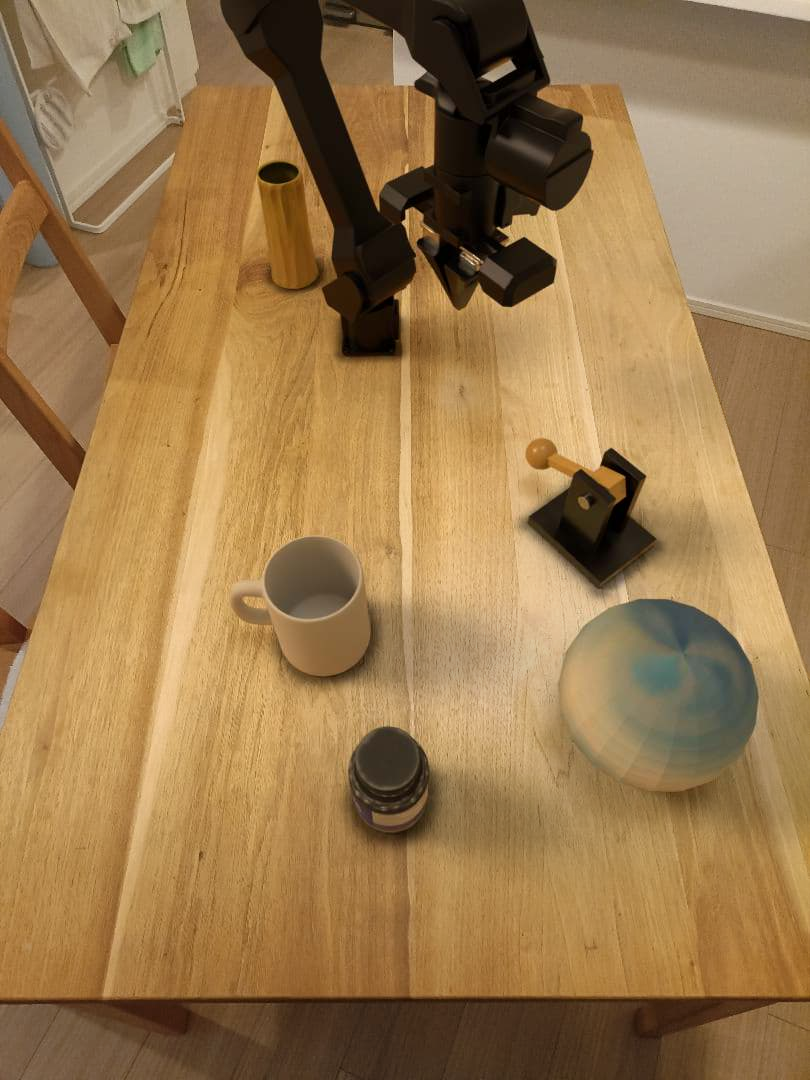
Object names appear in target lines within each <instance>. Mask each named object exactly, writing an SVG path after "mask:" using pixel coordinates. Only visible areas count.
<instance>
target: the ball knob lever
mask: <svg viewBox="0 0 810 1080" xmlns="http://www.w3.org/2000/svg"><path fill="white" fill-rule="evenodd" d="M524 455H525V460H526V462H527V464H528V465H529V467H532V469H535V470H538V471H545V470H548V469H550V468H551V469H554V470H556V471H557V472H559V473H562V474H564V475H565V476H567V477H569V478H571V479H572V478H573V474H574V473H575V472H577V471H578V470H580V469H582V470H583V471H585V472H586V473H587V474H588V475H589V476H590V477H592V478H593V479H594V480H595V481H596V482H598V483H599V484H600V485H601V486H602V487H603V488H605V489H606V490H607V491H608V492H609V493H611V494H612V495H613V496H614V497H615V498H616V501H615V504H617V503H618V502H619V501H621V500H622V499H623V498H625V497H626V481H625V476H623V475H621V474H619V473H617V472H615V471H613V470H611V469H609V468H607V467H604V466H601V467H600V466H599V467H598V468H596V469H595V470H591V469H589V468H587V467H585V466H583V465H581V464H579V463H577V462H575V461H573V460H571V459H569V458H567V457H565V456H563V455H561V454H559V453H558V448H557V446H556V444H555V443H554V442H553V441H552V440H550V439H549V438H545V437H539V438H538V437H537V438H535V439H533V440H532V441H531V442H529V443H528V445H527V446H526V448H525V453H524ZM615 504H614V505H615Z"/></svg>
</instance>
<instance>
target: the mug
mask: <svg viewBox="0 0 810 1080" xmlns="http://www.w3.org/2000/svg"><path fill="white" fill-rule="evenodd" d="M362 565H363V564H362V562H361V560H360V558H359V556H358V555H357V553H356V552H355V551H354V550H353V549H352V548H351V546H349V545H348V544H347V543H345V542H344V541H342V540H340V539H338V538H335V537H332V536H329V535H323V534H309V535H303V536H299V537H296V538H293V539H291V540H289V541H287V542H285V543H284V544H282V545H281V546H280V547H278V548H277V549H275V551H274V552H273V553H272V554H271V556H270V557H269V558H268V560H267V562H266V563H265V566H264V568H263V572H262V576H261V578H245V579H239V580H236V581H235V582H233V584H232V585H231V586H230V589H229V593H228V600H229V605H230V608H231V610H232V611H233V613H234V614H235V615H236V616H237V618H239V620H242V622H245V623H247V624H251V625H257V626H271V627H272V626H273V629H274V632H275V635H276V636H277V640H278V643H279V646H280V648H281V651H282V653H283V655H284V657H285V659H286V660H287V661H288V663H290V664H291V665H292V666H293V667H294V668H296V669H297V670H298V671H300V672H302V673H304V674H307V675H309V676H316V677H330V676H335V675H336V676H337V675H339V674H342V673H344V672H347V671H349V669H351V668H353V667H354V666H355V665H356V664H357V663H358V662H359V661H360V660H361V659H362V658H363V656H364V655H365V653H366V651H367V650H368V647H369V644H370V641H371V622H370V615H369V608H368V600H367V591H366V581H365V574H364V568H363V566H362ZM245 597H247V598H249V597H252V598H260V599H263V600H264V604H265V605H266V608H261V607H259V608H258V607H254V606H250V605H249V604H247V603H246V602H245V601H244V600H243V598H245Z"/></svg>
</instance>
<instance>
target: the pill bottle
mask: <svg viewBox="0 0 810 1080" xmlns="http://www.w3.org/2000/svg"><path fill="white" fill-rule="evenodd" d="M429 764H430V763H429V760H428V757H427V754H426V752H425V750H424V749H423V747H422V746H421V745H420V744H419V742H418V741H417V740H416V739H415V738H413V737H412V735H411V734H409V733H408V732H407V731H406V730H403V729H401V728H399V727H396V726H390V725H387V726H385V725H384V726H379V727H377V728H374V729H372V730H370V731H369V732H368V733H366V734H365V735H364V736H363V737H362V738H361V740H360V741H359V742H358V745H357V746H356V747H355V748H354V750H353V752H352V754H351V756H350V758H349V762H348V769H347V773H348V782H349V786H350V790H351V793H352V798H353V802H354V804H355V808H356V809H355V810H356V812H357V814H358V815H359V816H360V818H361V819H362V820H363V821H364V823H366V824H367V826H368V827H369V828H371V829H372V830H375V831H377V832H380V833H383V834H398V833H399V834H400V833H403V832H405V831H407V830H409V829H411V828H412V827H413V826H414V825H415V824H416V823H417V822H418V821H419V820H420V819H421V818H422V817H423V815H424V813H425V810H426V807H427V803H428V797H429V785H430V765H429Z"/></svg>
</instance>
